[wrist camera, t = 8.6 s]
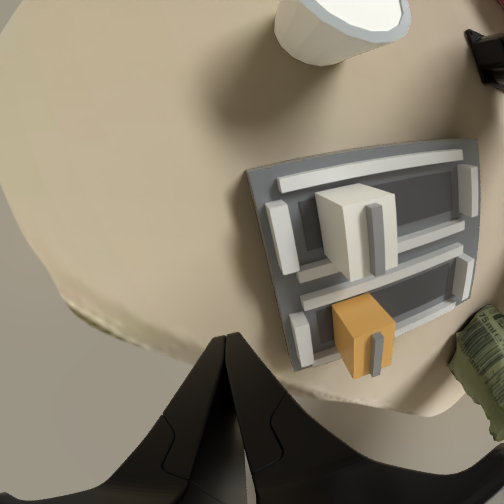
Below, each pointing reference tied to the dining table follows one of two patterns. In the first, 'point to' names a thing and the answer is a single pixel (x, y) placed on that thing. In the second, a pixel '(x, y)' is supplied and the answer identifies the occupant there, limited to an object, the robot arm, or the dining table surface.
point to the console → (408, 236)
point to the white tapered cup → (338, 27)
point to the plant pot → (501, 2)
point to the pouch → (483, 365)
